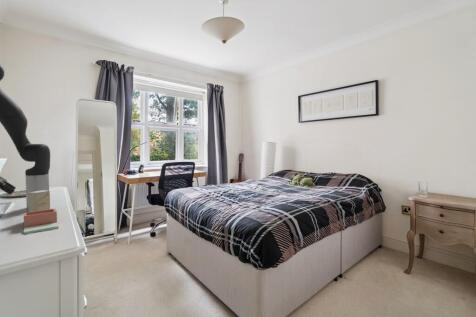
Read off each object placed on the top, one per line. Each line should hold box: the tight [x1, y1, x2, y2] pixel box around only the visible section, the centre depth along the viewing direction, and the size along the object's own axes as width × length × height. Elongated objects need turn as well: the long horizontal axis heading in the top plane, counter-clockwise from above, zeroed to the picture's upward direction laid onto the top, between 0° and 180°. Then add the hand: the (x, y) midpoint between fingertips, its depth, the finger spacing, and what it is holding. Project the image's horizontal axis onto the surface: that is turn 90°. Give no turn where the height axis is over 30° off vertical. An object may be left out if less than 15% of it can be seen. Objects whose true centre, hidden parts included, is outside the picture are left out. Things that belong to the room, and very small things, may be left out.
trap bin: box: [23, 208, 58, 229], centre depth 95 cm, size 7×10×5 cm
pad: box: [23, 222, 60, 235], centre depth 90 cm, size 6×10×1 cm, turn 132°
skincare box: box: [28, 189, 51, 212], centre depth 103 cm, size 6×4×12 cm
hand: (13, 191), depth 97 cm, fingers open, 8 cm apart
